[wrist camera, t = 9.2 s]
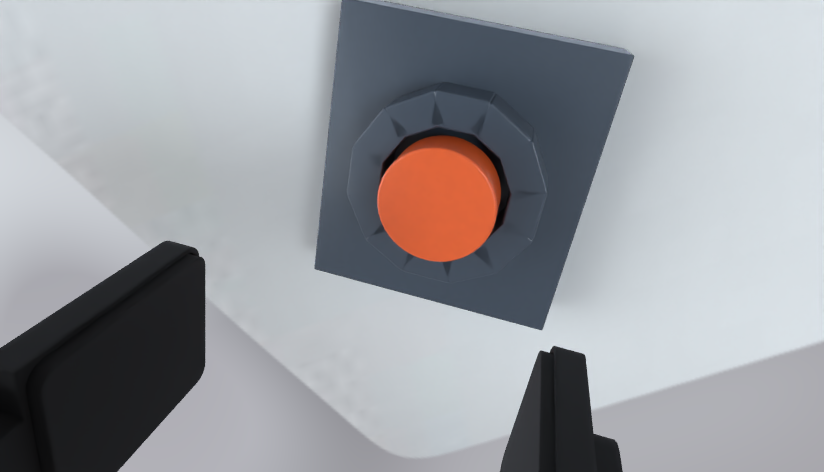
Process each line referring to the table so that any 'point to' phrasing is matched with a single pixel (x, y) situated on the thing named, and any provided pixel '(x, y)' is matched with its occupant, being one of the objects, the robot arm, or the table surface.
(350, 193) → the button block
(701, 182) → the table surface
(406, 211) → the button
